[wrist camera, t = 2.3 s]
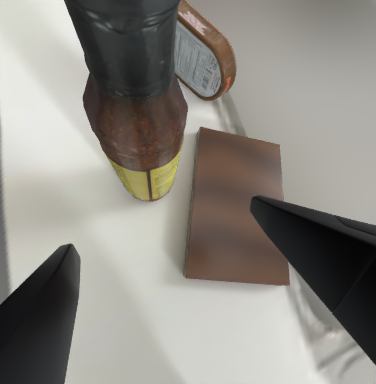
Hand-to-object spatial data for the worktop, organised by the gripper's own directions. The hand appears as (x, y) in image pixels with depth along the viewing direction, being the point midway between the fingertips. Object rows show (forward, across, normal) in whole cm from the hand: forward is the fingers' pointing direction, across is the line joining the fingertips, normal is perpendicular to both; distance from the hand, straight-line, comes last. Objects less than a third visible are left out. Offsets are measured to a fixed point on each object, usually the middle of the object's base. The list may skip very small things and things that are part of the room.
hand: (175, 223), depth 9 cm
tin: (+26, -10, -7) cm, 29 cm away
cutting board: (+11, -11, +8) cm, 17 cm away
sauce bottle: (+15, 0, +4) cm, 15 cm away
